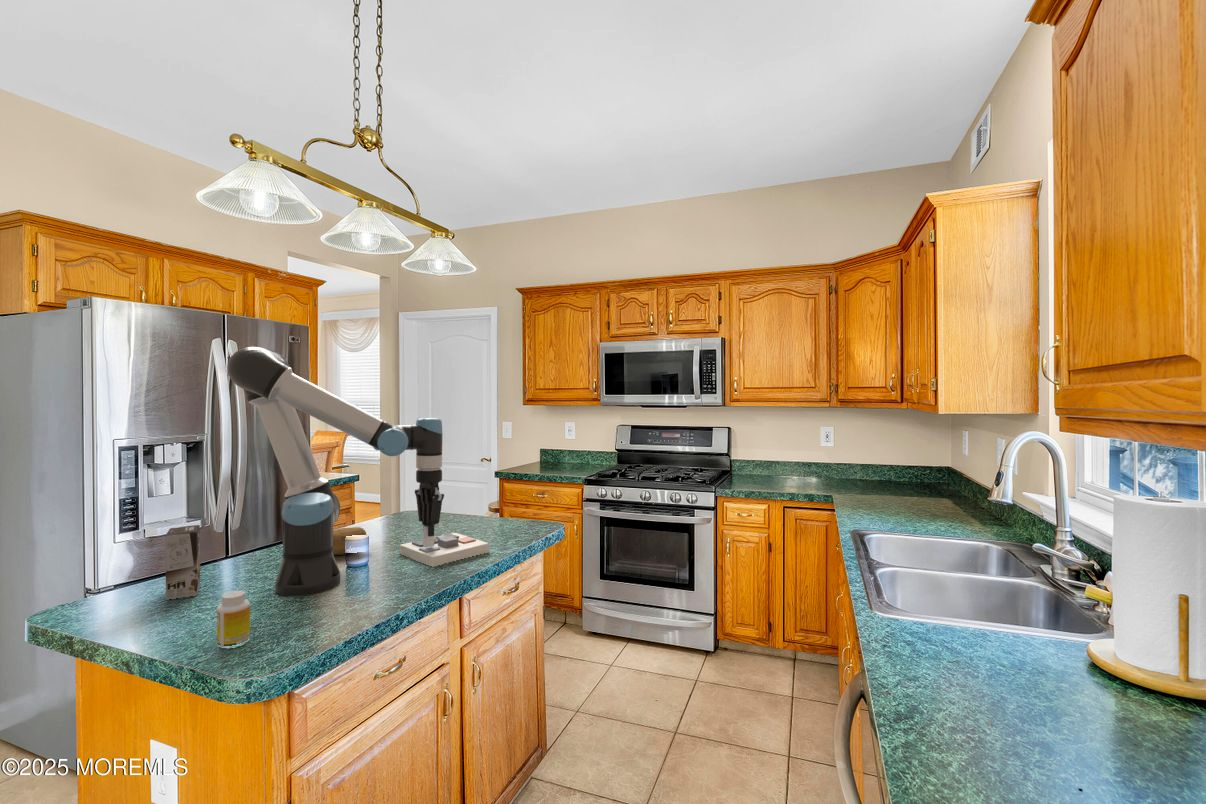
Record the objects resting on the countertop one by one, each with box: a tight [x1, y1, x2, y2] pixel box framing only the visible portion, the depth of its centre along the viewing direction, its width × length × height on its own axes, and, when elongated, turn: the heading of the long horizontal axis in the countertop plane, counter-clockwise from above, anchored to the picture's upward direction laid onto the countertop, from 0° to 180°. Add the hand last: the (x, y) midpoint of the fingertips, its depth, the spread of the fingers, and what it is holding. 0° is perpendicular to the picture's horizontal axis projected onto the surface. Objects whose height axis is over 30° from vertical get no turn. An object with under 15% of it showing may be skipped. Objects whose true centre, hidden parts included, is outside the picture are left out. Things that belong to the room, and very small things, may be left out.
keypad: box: [399, 532, 490, 568], centre depth 173 cm, size 20×19×4 cm
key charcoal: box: [438, 536, 458, 548], centre depth 172 cm, size 4×4×3 cm
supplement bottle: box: [216, 590, 251, 646], centre depth 111 cm, size 6×6×10 cm
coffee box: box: [165, 524, 201, 601], centre depth 139 cm, size 9×6×16 cm
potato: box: [333, 526, 367, 556], centre depth 172 cm, size 10×14×8 cm
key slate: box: [419, 546, 440, 553], centre depth 167 cm, size 4×4×3 cm
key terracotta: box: [458, 536, 476, 544], centre depth 177 cm, size 4×4×3 cm
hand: (428, 546), depth 167 cm, fingers closed
